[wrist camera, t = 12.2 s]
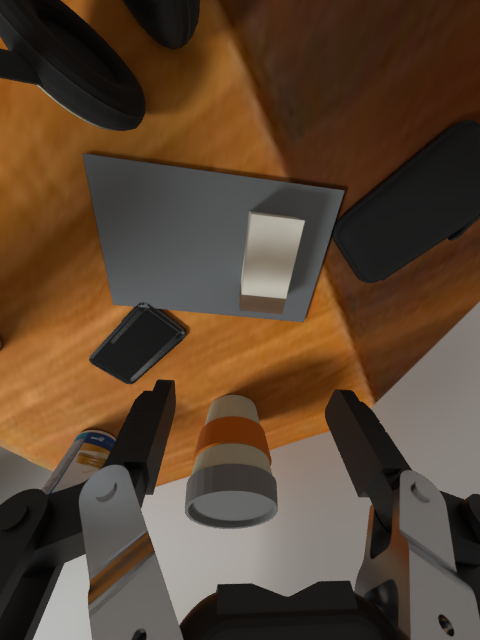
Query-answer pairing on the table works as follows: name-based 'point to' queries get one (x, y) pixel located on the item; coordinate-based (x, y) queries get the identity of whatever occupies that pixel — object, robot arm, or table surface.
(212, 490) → the reusable coffee cup
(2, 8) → the headphones
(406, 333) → the table surface
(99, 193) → the mat
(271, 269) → the tall grey rectangular block
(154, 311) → the phone
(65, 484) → the beverage bottle
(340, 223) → the carrying case or bag
